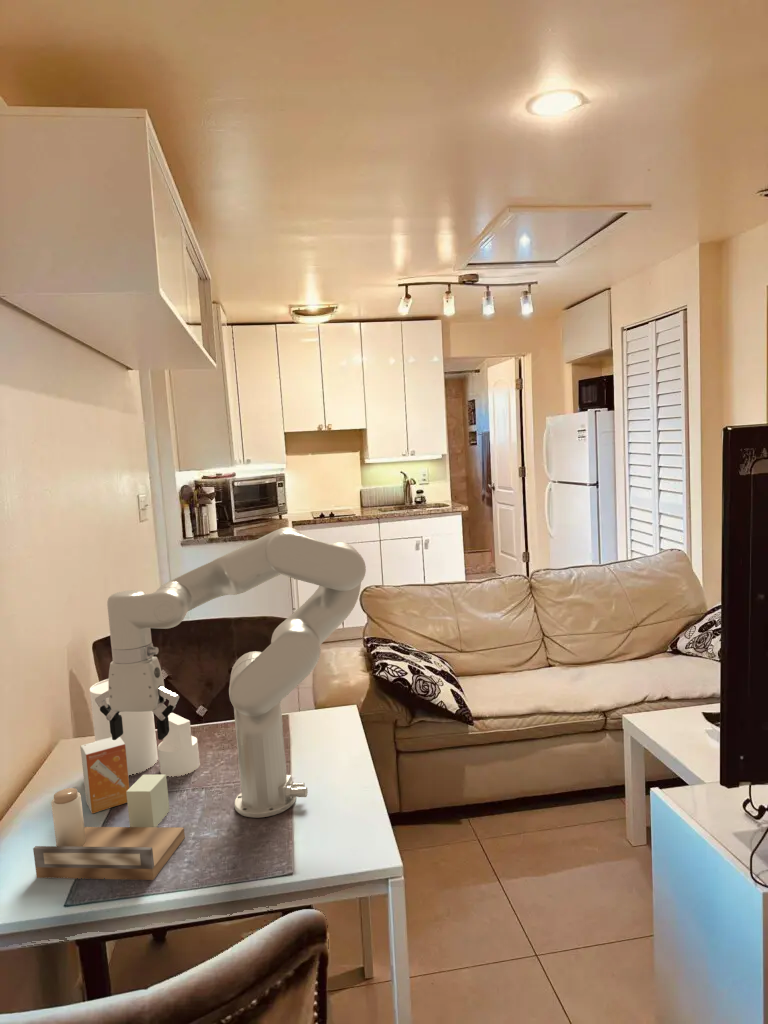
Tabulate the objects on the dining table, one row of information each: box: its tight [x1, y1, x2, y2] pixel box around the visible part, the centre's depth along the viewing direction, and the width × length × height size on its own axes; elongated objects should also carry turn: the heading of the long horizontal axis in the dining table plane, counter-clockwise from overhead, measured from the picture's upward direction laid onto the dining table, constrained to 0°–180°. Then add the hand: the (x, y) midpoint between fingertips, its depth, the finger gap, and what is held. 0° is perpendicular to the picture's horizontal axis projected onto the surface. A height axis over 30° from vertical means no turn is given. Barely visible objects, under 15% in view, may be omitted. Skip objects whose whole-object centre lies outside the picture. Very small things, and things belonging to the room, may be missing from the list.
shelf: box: [32, 826, 186, 881], centre depth 126 cm, size 22×13×6 cm, turn 82°
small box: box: [80, 737, 131, 814], centre depth 147 cm, size 8×6×13 cm
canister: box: [89, 678, 159, 777], centre depth 165 cm, size 14×14×20 cm
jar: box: [50, 787, 86, 847], centre depth 128 cm, size 5×5×10 cm
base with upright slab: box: [157, 712, 201, 778], centre depth 161 cm, size 9×9×12 cm
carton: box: [126, 773, 171, 827], centre depth 138 cm, size 5×7×8 cm
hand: (140, 737), depth 137 cm, fingers open, 9 cm apart
